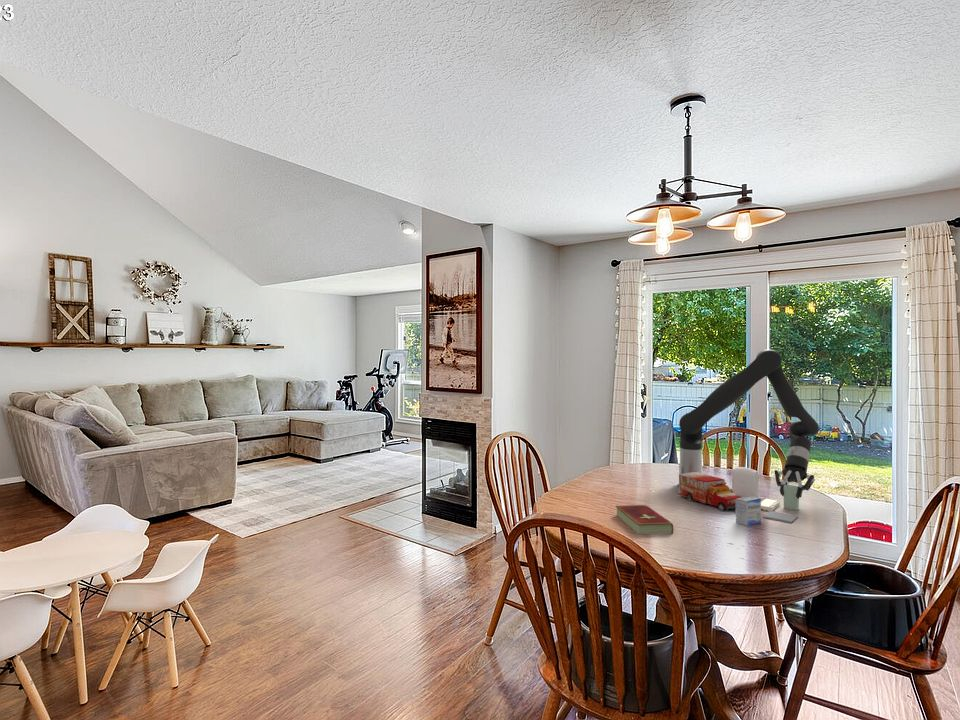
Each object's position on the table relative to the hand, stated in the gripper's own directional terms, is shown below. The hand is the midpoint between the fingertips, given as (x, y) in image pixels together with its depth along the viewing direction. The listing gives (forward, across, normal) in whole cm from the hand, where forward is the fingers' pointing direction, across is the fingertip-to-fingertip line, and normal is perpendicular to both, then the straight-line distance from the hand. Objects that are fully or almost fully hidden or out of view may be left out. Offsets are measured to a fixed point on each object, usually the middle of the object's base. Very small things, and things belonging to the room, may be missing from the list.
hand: (790, 495), depth 191 cm
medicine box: (+24, -7, -16) cm, 30 cm away
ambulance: (+13, -25, -5) cm, 29 cm away
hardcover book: (+43, -33, -35) cm, 65 cm away
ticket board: (+5, -7, +2) cm, 9 cm away
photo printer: (-1, -18, +8) cm, 20 cm away
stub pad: (+14, 0, -6) cm, 15 cm away
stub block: (+2, 0, +5) cm, 6 cm away
